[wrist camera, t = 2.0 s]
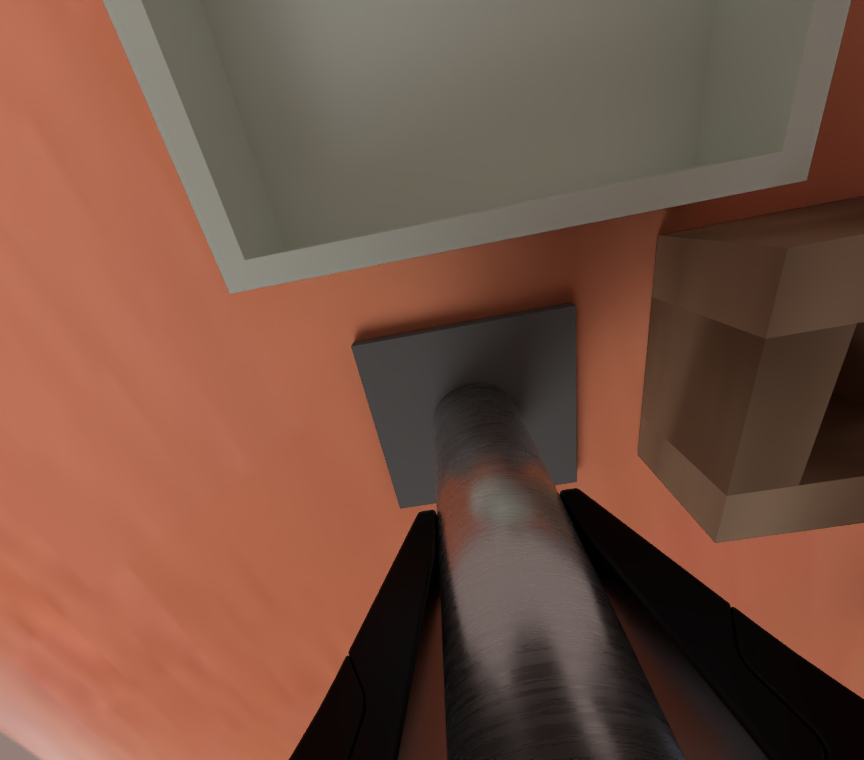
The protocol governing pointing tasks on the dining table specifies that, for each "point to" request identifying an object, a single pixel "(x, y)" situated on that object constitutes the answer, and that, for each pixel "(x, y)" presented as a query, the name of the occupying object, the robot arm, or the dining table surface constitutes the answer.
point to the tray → (467, 116)
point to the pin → (526, 606)
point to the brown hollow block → (760, 371)
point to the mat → (464, 364)
